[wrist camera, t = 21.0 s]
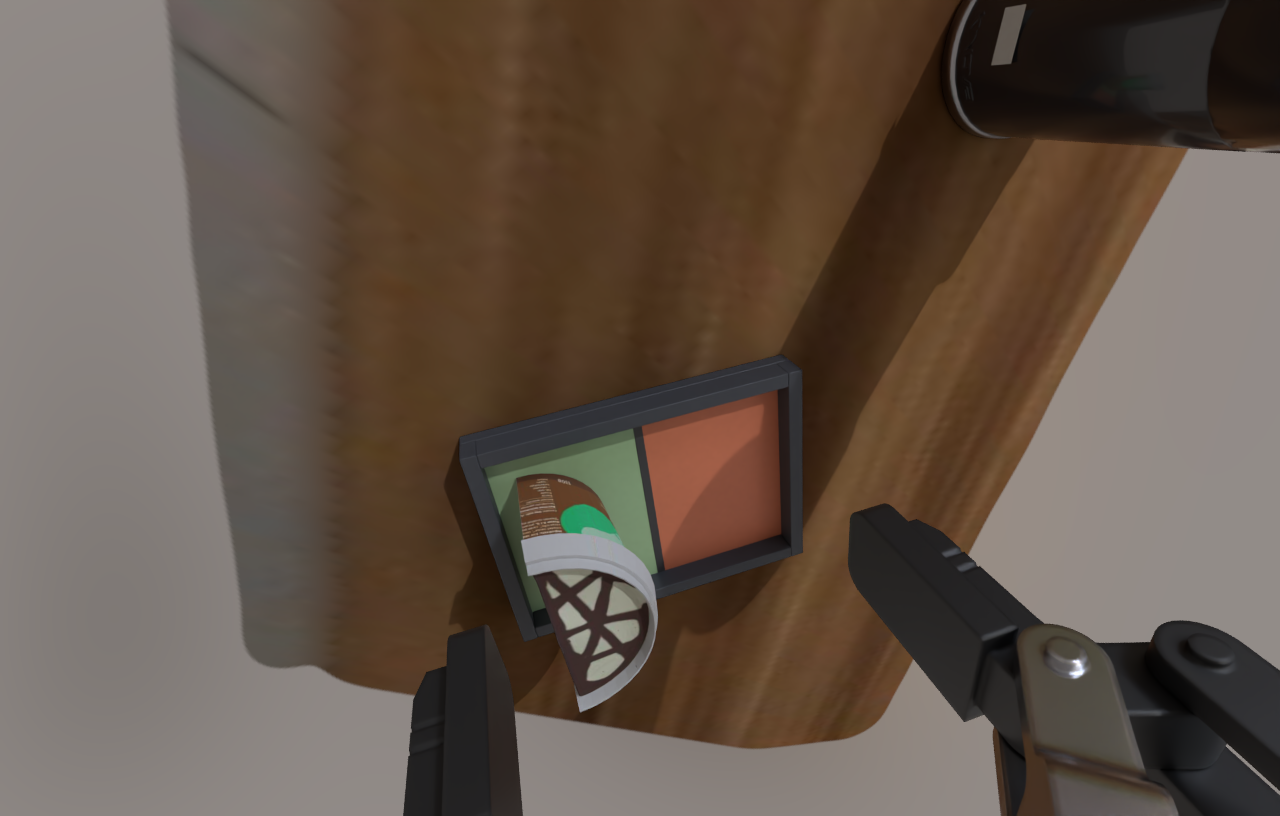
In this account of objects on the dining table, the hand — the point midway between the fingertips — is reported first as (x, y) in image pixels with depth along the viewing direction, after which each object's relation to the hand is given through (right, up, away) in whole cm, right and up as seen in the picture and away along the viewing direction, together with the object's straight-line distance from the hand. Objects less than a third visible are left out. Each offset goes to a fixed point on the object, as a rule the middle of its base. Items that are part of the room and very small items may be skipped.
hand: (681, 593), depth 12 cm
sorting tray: (-1, -2, +30) cm, 30 cm away
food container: (-5, -4, +28) cm, 28 cm away
